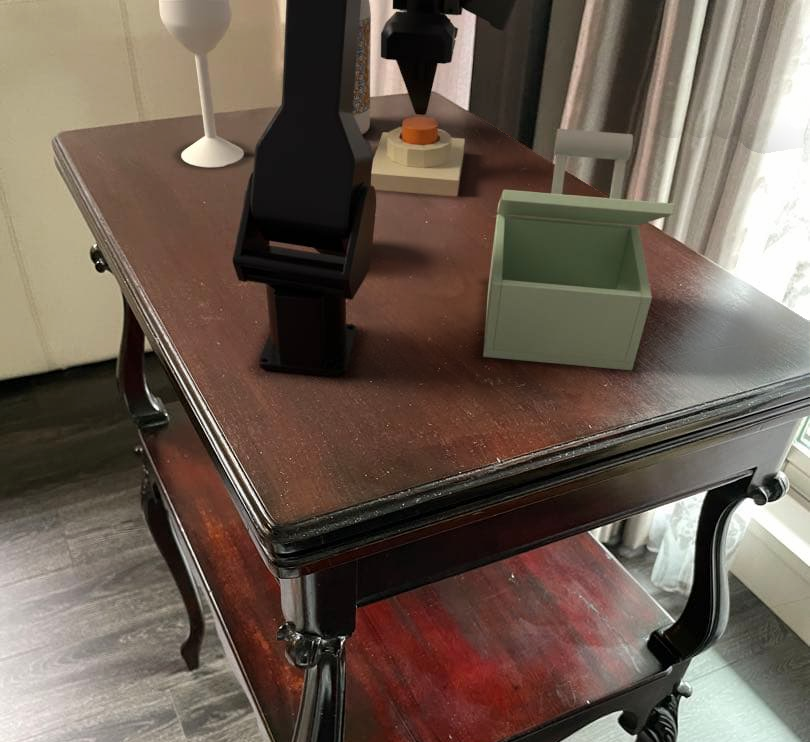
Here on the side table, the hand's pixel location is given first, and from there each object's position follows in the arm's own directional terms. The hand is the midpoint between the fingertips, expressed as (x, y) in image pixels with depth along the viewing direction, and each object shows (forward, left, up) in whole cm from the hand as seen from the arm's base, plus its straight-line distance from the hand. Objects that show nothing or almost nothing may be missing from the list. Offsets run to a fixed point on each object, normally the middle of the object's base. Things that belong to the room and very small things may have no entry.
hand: (420, 113), depth 84 cm
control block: (0, 0, -6) cm, 6 cm away
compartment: (-28, -14, -6) cm, 32 cm away
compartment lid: (-28, -14, +3) cm, 31 cm away
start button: (0, 0, -3) cm, 3 cm away
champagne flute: (0, +22, -6) cm, 23 cm away
